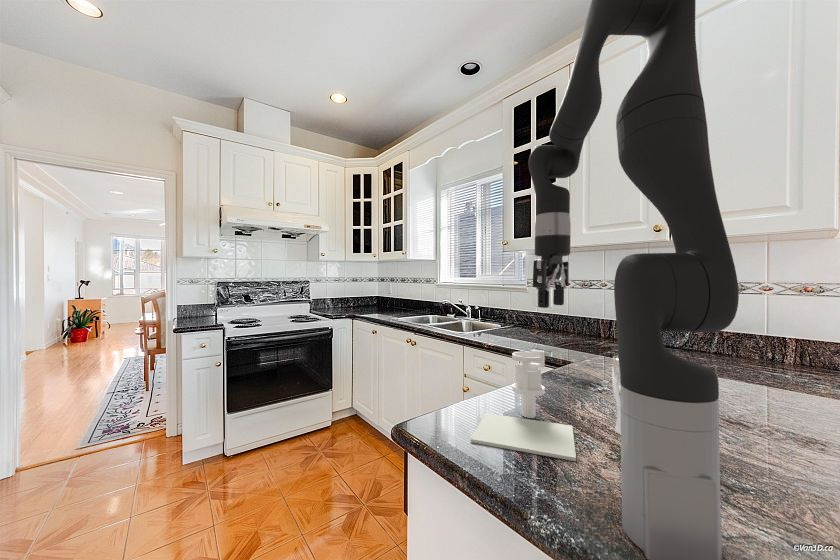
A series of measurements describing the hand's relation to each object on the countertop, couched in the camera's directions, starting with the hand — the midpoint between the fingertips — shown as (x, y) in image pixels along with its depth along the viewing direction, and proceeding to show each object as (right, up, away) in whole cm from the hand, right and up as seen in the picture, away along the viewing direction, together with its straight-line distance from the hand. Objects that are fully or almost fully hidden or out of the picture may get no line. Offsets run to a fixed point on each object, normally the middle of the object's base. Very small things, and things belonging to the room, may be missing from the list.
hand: (551, 306), depth 76 cm
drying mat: (-9, -25, -10) cm, 28 cm away
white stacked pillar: (-5, -25, 0) cm, 26 cm away
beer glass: (+13, -25, -9) cm, 29 cm away
